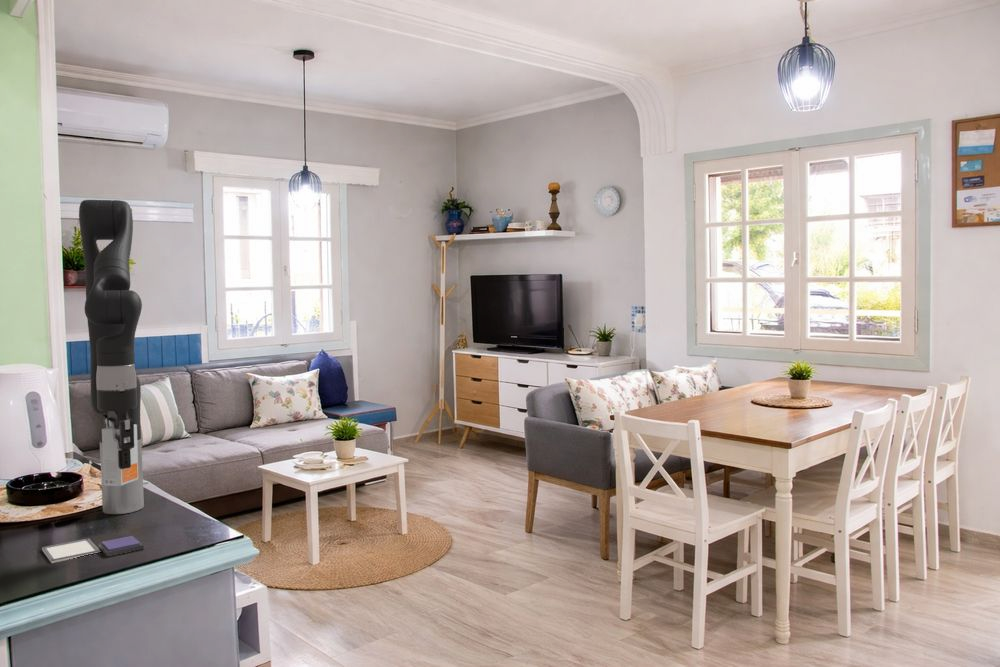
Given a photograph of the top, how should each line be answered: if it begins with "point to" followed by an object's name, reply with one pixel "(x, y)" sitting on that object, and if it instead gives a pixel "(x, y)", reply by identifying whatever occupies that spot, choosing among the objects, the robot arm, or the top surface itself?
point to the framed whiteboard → (70, 550)
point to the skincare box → (110, 460)
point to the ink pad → (120, 545)
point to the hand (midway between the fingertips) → (119, 464)
